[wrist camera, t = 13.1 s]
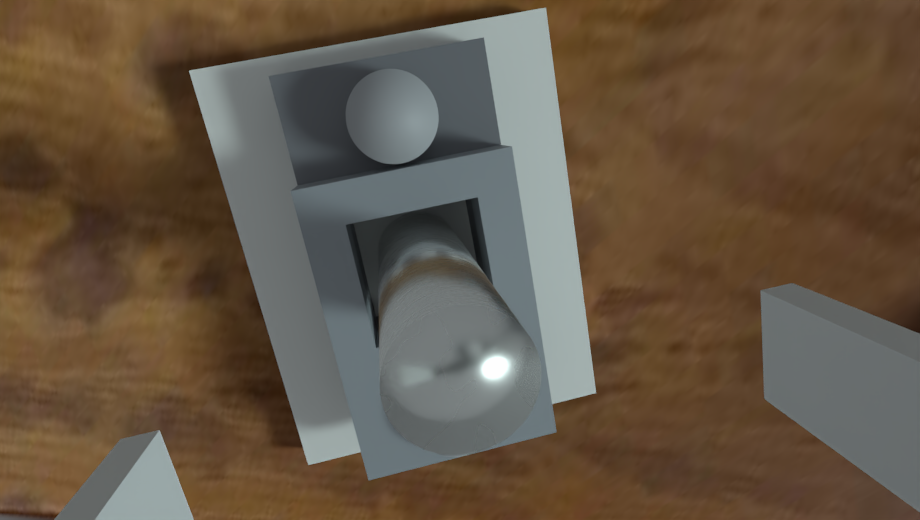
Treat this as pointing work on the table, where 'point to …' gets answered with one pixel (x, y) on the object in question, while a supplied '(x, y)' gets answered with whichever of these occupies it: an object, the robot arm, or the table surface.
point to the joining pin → (448, 343)
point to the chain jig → (398, 207)
